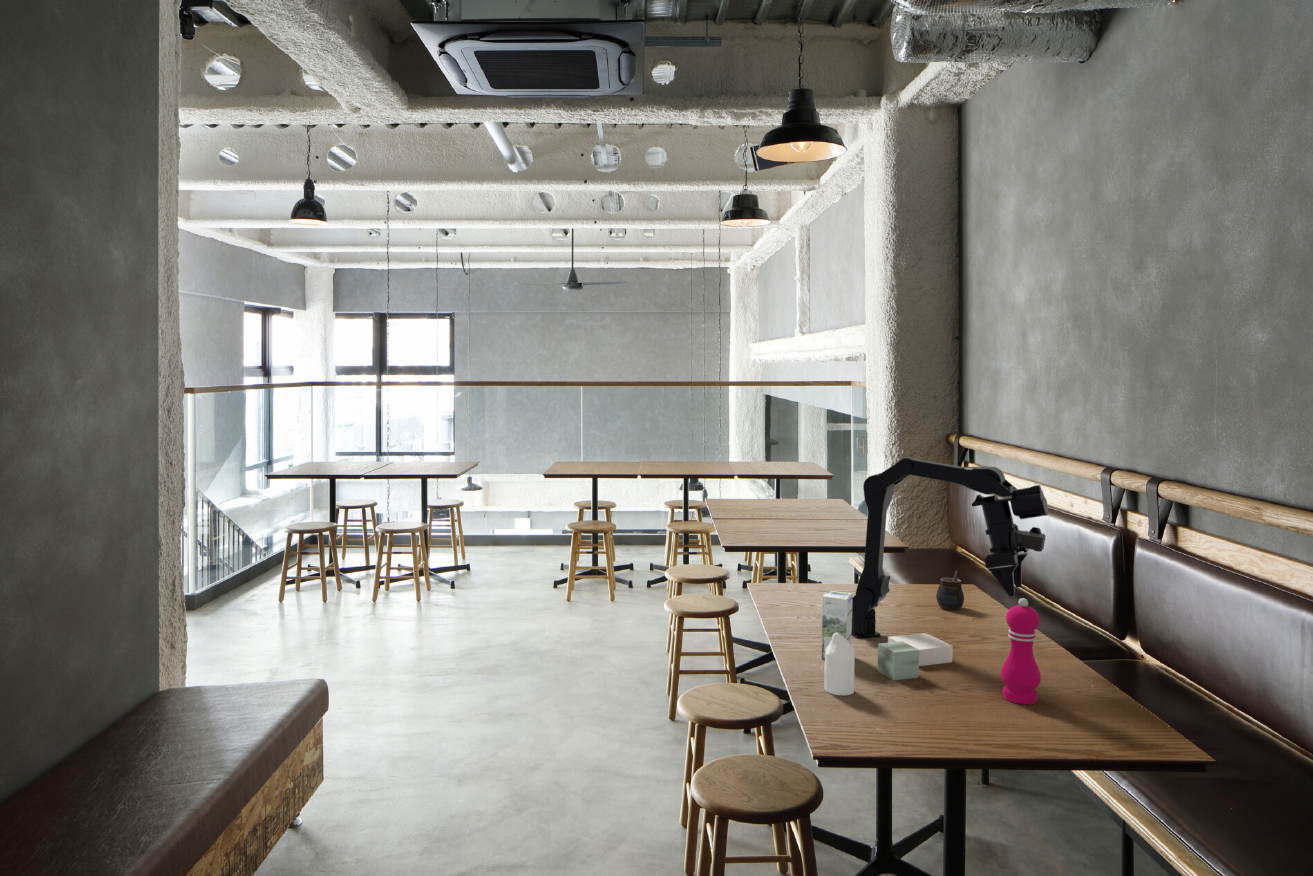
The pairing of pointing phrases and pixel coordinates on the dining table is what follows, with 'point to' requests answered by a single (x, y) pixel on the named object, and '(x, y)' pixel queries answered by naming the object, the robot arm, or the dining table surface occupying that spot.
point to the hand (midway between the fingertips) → (1015, 591)
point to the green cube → (898, 660)
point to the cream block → (927, 648)
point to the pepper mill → (1021, 656)
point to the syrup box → (836, 617)
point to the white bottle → (839, 666)
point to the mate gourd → (950, 593)
